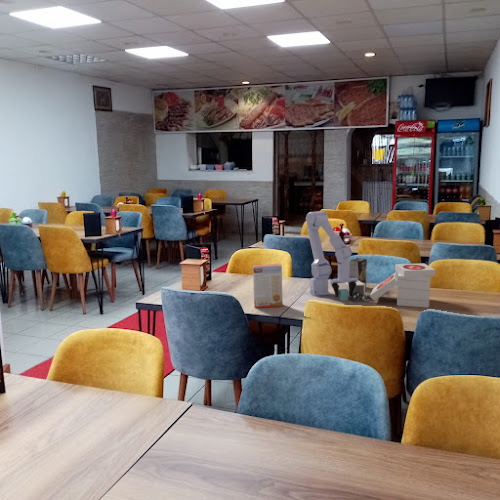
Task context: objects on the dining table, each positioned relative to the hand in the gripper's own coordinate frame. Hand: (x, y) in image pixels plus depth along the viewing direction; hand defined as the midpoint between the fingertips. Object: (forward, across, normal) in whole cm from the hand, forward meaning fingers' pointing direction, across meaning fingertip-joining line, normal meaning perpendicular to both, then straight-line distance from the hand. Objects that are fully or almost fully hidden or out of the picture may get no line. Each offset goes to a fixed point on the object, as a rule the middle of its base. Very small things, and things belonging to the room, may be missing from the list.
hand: (343, 296), depth 266 cm
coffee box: (+2, +16, +20) cm, 25 cm away
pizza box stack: (+2, +26, -12) cm, 29 cm away
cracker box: (+2, -40, 0) cm, 40 cm away
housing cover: (+1, +8, +6) cm, 11 cm away
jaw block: (+2, 0, 0) cm, 2 cm away
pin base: (+2, +8, +2) cm, 9 cm away
